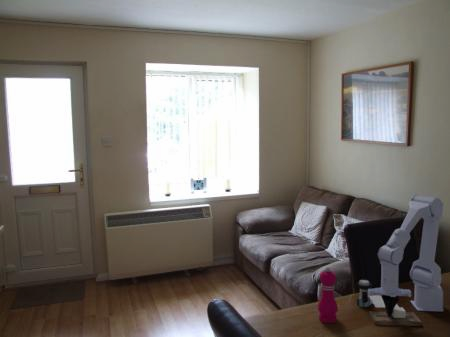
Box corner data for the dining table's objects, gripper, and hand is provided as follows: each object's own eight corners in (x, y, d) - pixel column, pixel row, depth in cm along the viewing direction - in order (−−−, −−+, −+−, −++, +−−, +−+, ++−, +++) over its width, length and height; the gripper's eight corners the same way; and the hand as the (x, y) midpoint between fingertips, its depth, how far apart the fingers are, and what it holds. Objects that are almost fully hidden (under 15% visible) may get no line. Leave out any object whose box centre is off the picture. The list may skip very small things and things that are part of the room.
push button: (368, 301, 154) (368, 277, 153) (377, 307, 149) (377, 282, 148) (354, 303, 153) (354, 279, 152) (362, 309, 147) (362, 284, 146)
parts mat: (390, 296, 158) (390, 295, 158) (399, 308, 147) (399, 307, 147) (368, 295, 159) (368, 294, 159) (375, 307, 148) (375, 307, 148)
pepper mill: (338, 315, 143) (338, 264, 141) (337, 325, 136) (337, 271, 134) (318, 313, 145) (318, 262, 143) (316, 322, 139) (316, 269, 137)
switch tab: (402, 313, 140) (402, 307, 139) (405, 317, 137) (405, 311, 136) (391, 313, 140) (391, 307, 140) (393, 317, 137) (394, 311, 137)
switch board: (413, 316, 141) (413, 312, 141) (421, 325, 134) (421, 321, 134) (369, 315, 143) (369, 310, 143) (374, 324, 136) (374, 320, 136)
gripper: (372, 282, 134) (371, 319, 136) (414, 283, 132) (413, 320, 134) (366, 275, 141) (366, 309, 142) (407, 275, 139) (406, 310, 141)
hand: (389, 314), depth 139 cm, fingers closed
